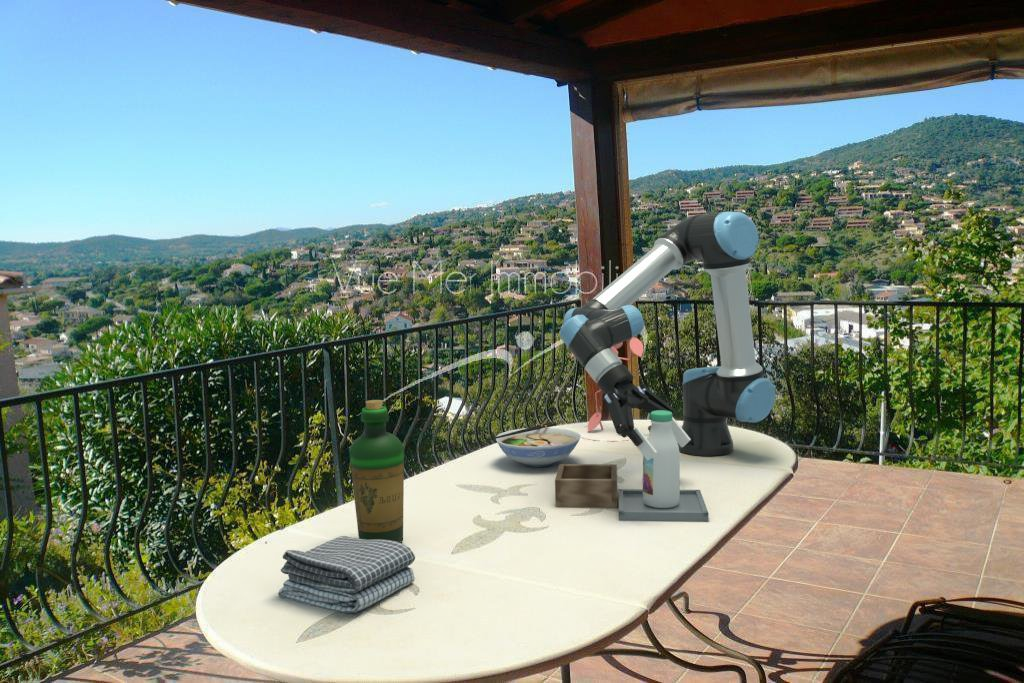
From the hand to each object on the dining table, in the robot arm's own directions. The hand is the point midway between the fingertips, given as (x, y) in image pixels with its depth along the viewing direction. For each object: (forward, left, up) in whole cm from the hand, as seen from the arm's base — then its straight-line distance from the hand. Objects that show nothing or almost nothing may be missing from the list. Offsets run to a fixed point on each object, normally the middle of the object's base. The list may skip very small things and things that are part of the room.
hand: (669, 449), depth 165 cm
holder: (+18, -8, -13) cm, 24 cm away
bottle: (+57, +22, -13) cm, 62 cm away
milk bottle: (+2, -1, -12) cm, 13 cm away
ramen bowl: (+32, -38, -13) cm, 52 cm away
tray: (+2, -1, -13) cm, 13 cm away
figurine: (+15, -71, -13) cm, 74 cm away
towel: (+56, +43, -14) cm, 72 cm away
